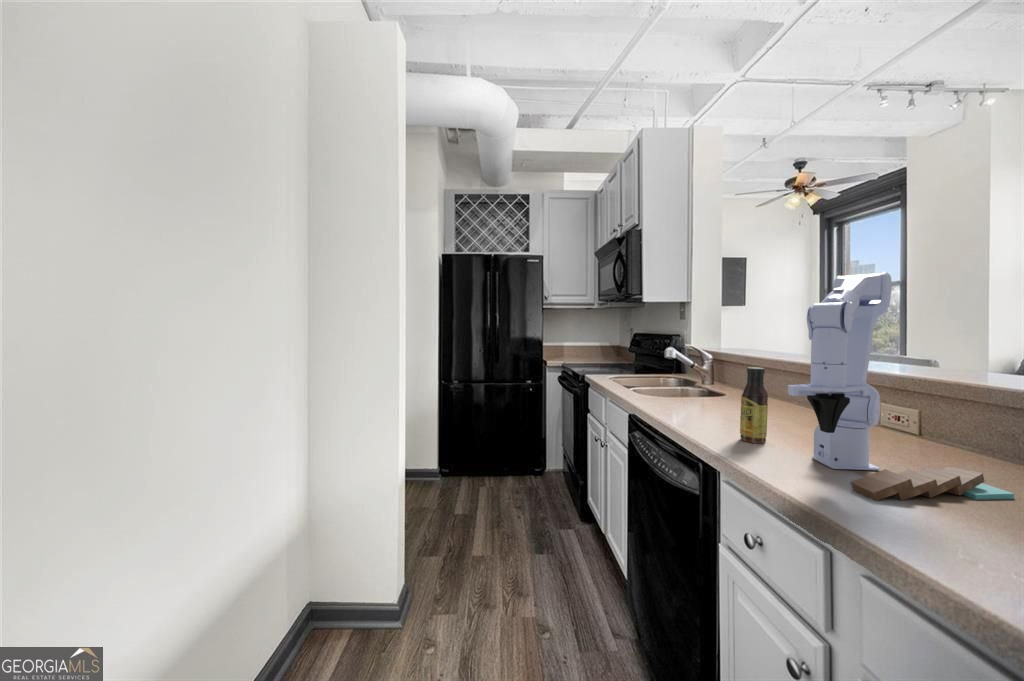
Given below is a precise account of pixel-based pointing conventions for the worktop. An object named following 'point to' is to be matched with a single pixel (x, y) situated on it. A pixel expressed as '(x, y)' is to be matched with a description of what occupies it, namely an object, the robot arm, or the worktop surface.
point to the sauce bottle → (754, 408)
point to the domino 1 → (881, 484)
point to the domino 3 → (940, 481)
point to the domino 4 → (964, 480)
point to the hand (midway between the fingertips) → (827, 431)
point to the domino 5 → (988, 493)
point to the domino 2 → (916, 485)
